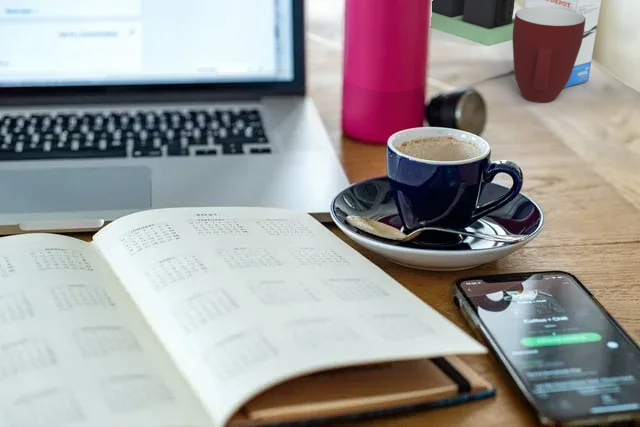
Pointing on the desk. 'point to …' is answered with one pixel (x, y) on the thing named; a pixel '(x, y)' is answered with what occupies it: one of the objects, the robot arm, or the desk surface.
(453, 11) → the black block
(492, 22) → the dark grey block
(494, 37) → the holder
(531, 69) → the mug
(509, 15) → the robot arm
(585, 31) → the ink box
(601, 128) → the desk surface
